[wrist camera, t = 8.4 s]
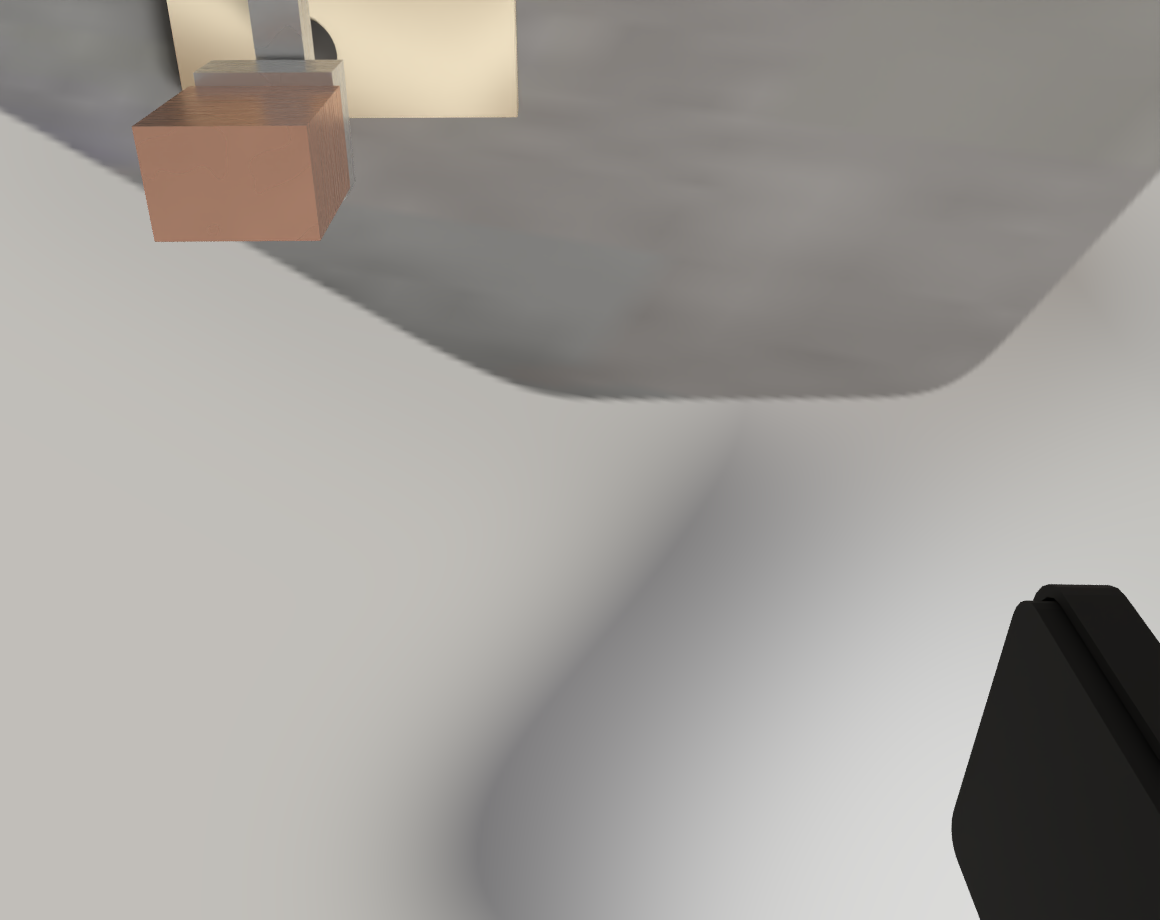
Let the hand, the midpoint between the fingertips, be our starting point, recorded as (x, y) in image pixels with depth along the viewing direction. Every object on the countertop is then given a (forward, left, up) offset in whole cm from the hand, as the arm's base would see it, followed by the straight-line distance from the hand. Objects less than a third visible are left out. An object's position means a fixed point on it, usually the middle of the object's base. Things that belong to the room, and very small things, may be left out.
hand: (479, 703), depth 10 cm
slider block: (0, -6, -30) cm, 31 cm away
